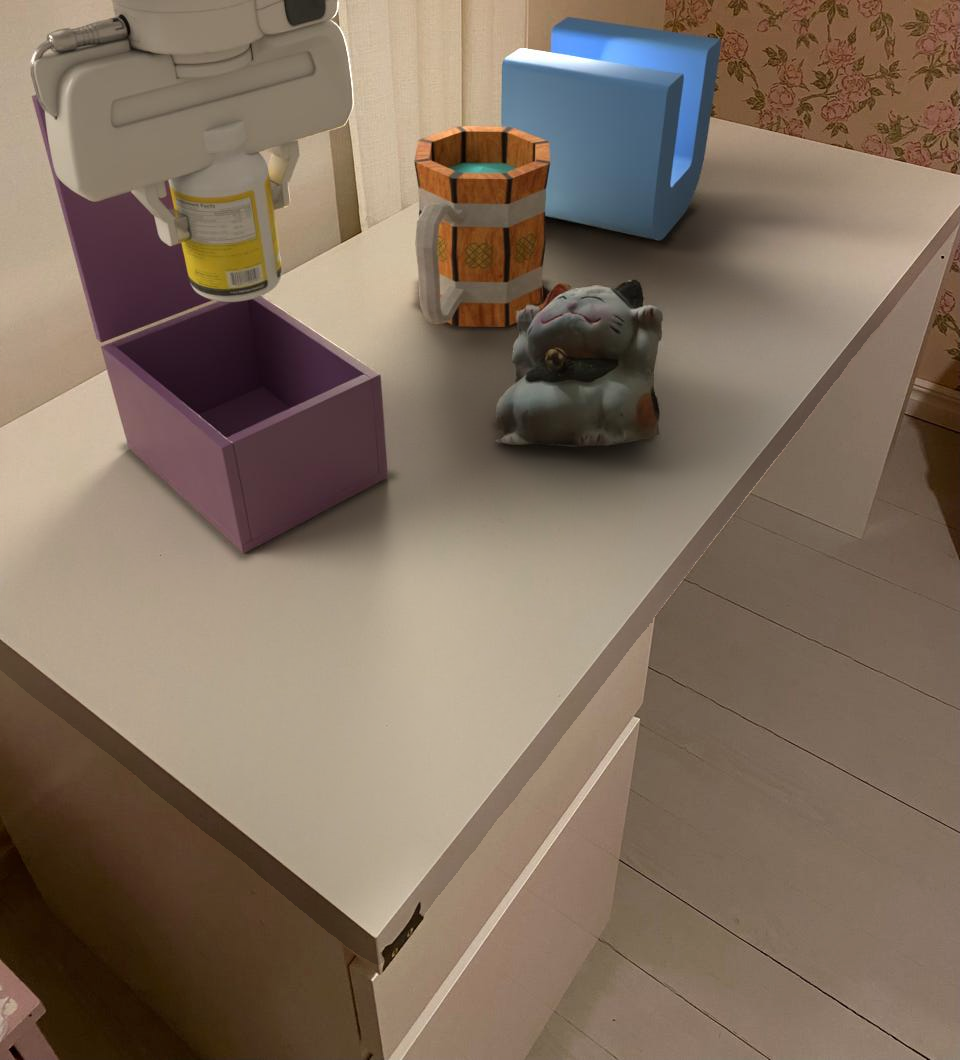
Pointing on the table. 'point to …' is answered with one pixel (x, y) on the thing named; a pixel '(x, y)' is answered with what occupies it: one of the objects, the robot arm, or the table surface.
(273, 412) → the box
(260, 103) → the robot arm
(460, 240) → the wooden beer tankard
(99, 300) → the lid
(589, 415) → the lucky cat figurine
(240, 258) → the pill bottle
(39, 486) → the table surface
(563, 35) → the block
